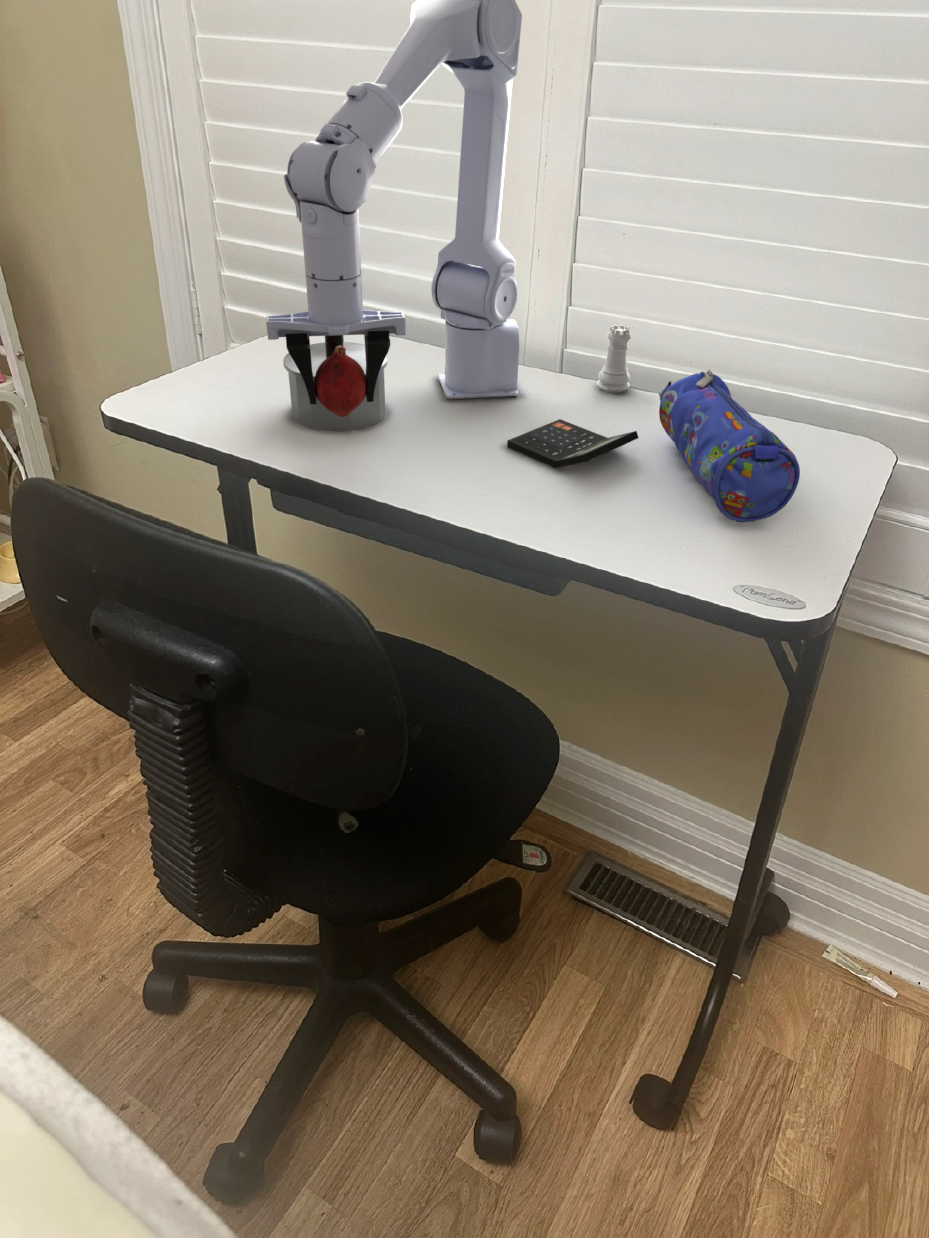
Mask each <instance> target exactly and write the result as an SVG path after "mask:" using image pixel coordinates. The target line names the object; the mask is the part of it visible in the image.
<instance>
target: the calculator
mask: <svg viewBox="0 0 929 1238" xmlns="http://www.w3.org/2000/svg"><path fill="white" fill-rule="evenodd" d="M637 439H639V434H638V431H637V430H634V431H630V432H626V433H622V434H618V435H614V436H611V437H606V436H604V435H602V434H599V433H596V432H595V431H592V430H589V429H587V428H584V427H581V426H578V425H576V424H573V423H572V422H569V421H566V420H564V419H561V418H559V419H557V420H554V421H551V422H549V423H547V424H544V425H542V426H539V427H537V428H534V429H532V430H529V431H527V432H525V433H521V434H520V435H517V436H515V437H511V438H510V439H507V441H506V448H508V449H510V450H512V451H514V452H517V453H518V454H519V453H520V454H522V455H524V456H526V457H528V458H531V459H533V460H535V461H537V462H540V463H542V464H545V465H547V466H549V467H551V468H554V469H559V468H563V467H568V466H569V467H570V466H574V465H580V464H584V463H588V462H590V461H592V460H594V459H597V458H599V457H601V456H603V455H605V454H608V453H610V452H612V451H613V450H616V449H618V448H621V447H622V446H625V445H627V444H629V443H631V442H633V441H635V440H637Z"/></svg>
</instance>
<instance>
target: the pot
mask: <svg viewBox="0 0 929 1238" xmlns="http://www.w3.org/2000/svg"><path fill="white" fill-rule="evenodd" d="M287 372H288V371H287ZM288 383H289V392H290V395H289V396H290V404H291V405H290V406H291V415H292V418H293V420H294V421H295V422H296V423H297V424H298V425H300V426H303V427H305V428H306V429H307V428H308V429H310V430H314V431H321V432H333V433H339V432H341V433H342V432H351V431H357V430H362V429H366V428H370V427H371V426H373V425H376V424H378V423H379V422H380V421H382V419H383V418H384V416H385V414H386V392H385V368H384V369H383V370H382V371H380V372H379V375H378V378H377V382H376V386H375V391H374V401H373V402H367V398H366V396H365V398H364V400H363V401H362V403H361V404H360V405H359V406H358V407H357V408H356V409H354V410H353V411H352V412H351V413H349V414H348V415H347V416H346V417H339V416H338V415H336V414H334V413H332V412H330V411H329V410H327V409H326V408H325V407H324V406H323V405H322V404H321V403H320V402H319V400H318V398H317V397H316V404H310V400H309V395H308V392H307V389H306V386H305V383H304V381H303V378H301V377H298V376H295V375H293V374H291V373H289V372H288ZM314 383H315V380H314Z"/></svg>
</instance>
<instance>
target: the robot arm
mask: <svg viewBox="0 0 929 1238" xmlns="http://www.w3.org/2000/svg"><path fill="white" fill-rule="evenodd" d="M522 21H523V14H522V11H521V10H520V7H519V6H518V4H517V1H516V0H415V1H414V2H412V4H411V7H410V25H409V27H408V28H407V29H406V31H405V33H404V34H403V35H402V37H401V39H400V41H399V43H398V44H397V46H396V47H395V49H394V50H393V52H392V53H391V55H390V57H389V58H388V60H387V61H386V63H385V64H384V66H383V67H382V69H381V71H380V73H379V74H378V76H377V77H376V79H375V80H374V82H371V81H362V82H359V83H357V84H351V86H350V87H349V88H348V89H347V91H346V93H345V95H346V98H345V100H344V101H343V102H342V103H341V105H340V106H339V107H338V109H336V111H335V112H334V114H333V115H332V116H331V118H330V119H329V120H328V122H327V123H324V124H323V126H322V127H321V129H320V132H319V133H318V135H317V137H316V138H315V140H308V141H304V142H302V143H301V144H299V145H298V146H297V147H296V149H294V150H293V152H292V153H291V154H290V157H289V159H288V163H287V170H286V171H287V172H286V174H283V180H284V185H285V188H286V191H287V193H288V195H289V196H290V198H291V200H293V203H294V205H295V212H296V213H295V214H296V218H297V219H298V222H299V223H300V224H301V235H302V246H303V259H304V273H305V287H306V298H307V299H306V300H307V311H300V312H294V313H293V312H292V313H286V314H277V315H267V316H266V317H265V322H266V323H265V325H266V333H267V340H268V341H270V340H271V341H272V340H275V341H276V340H279V338H285V344H286V350H287V352H288V353H289V354H290V356H291V357H292V359H293V361H294V362H295V364H296V366H297V368H298V370H299V372H300V374H301V376H302V378H303V381H304V383H305V386H306V389H307V392H308V395H309V400H310V404H316V393H315V387H314V378H313V372H312V363H311V350H310V345H311V339H310V337H325V336H335V335H343V336H359V335H360V336H362V335H363V337H364V345H365V355H366V381H367V394H366V398H367V402H373V401H374V391H375V386H376V382H377V378H378V375H379V372H380V369H381V366H382V364H383V361H384V359H385V357H386V356H387V355H388V353H389V350H390V348H391V339H390V335H391V334H394V335H395V336H406V335H407V334H406V330H407V329H406V326H407V325H406V324H407V323H406V316H405V312H404V311H384V310H383V311H381V310H372V309H371V310H370V309H364V303H363V302H364V301H363V280H362V279H363V278H362V255H361V254H362V253H361V234H360V233H361V231H360V212H359V211H360V210H359V209H360V208H361V207H362V205H364V204H365V203H366V202H367V200H368V198H369V195H370V191H371V187H372V179H373V176H374V174H375V173H376V168H377V165H376V164H377V163H378V162H379V161H380V159H381V158H382V156H383V155H384V153H385V152H386V150H387V149H388V148H389V147H390V146H391V144H392V143H393V141H395V138H396V137H397V136H398V134H400V131H402V128H403V124H404V117H403V112H402V109H403V108H404V106H405V105H406V104H407V103H408V102H410V100H411V99H412V98H413V96H414V95H415V94H416V93H417V92H418V91H419V89H420V88H421V87H422V86H423V85H424V84H425V83H426V82H427V80H428V79H429V78H430V77H431V76H432V75H433V74H434V72H435V71H436V70H438V68H439V67H440V66H441V65H442V66H443V67H444V68H446V69H447V70H448V71H449V72H450V73H452V74H454V76H455V77H456V79H457V80H458V82H459V83H460V85H461V87H463V90H464V95H463V97H464V98H463V111H462V112H463V113H462V114H463V115H462V128H461V142H460V143H461V144H460V155H459V156H460V157H459V158H460V159H459V170H458V171H459V173H458V187H457V201H456V203H457V204H456V217H455V218H456V219H455V232H454V238H453V239H452V240H451V241H449V242H448V243H447V244H446V245H444V246H443V247H442V248H441V249H440V250H439V251H438V253H437V254H438V255H437V264H436V269H435V272H434V274H433V277H432V280H431V298H432V302H433V304H434V306H435V308H437V309H438V310H439V311H440V319H442V320H445V321H444V323H445V327H444V328H445V329H444V331H445V332H444V336H445V338H444V340H445V341H444V348H445V349H444V373H439V374H438V377H437V378H438V380H439V383H440V386H441V388H442V390H443V393H444V395H445V398H447V399H449V400H451V399H453V400H455V399H477V398H499V397H517V396H518V395H519V391H518V376H519V361H520V359H519V358H520V332H519V327H518V323H517V321H516V320H515V319H512V318H510V317H511V316H512V314H513V313H514V311H515V310H516V306H517V302H518V296H519V290H518V284H517V279H516V267H517V261H516V259H515V258H514V256H513V255H512V254H511V253H510V252H509V251H508V249H507V248H505V246H504V245H503V244H502V243H501V241H500V239H499V238H500V227H501V215H502V205H503V204H502V203H503V195H504V194H503V192H504V181H505V173H506V172H505V171H506V160H507V148H508V138H509V137H508V136H509V124H510V117H511V116H510V115H511V104H512V92H513V82H514V81H513V80H514V79H515V78H516V77H517V75H518V66H519V65H518V63H519V52H520V43H521V31H522Z"/></svg>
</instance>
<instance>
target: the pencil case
mask: <svg viewBox="0 0 929 1238" xmlns="http://www.w3.org/2000/svg"><path fill="white" fill-rule="evenodd" d="M658 396H659V400H660V403H659V409H658V415H659V422H660V424H661V427H662V429H663V430H664V431H665V434H666V435H667V436H668V437H669V439H670V440H671V441H672V442H673V443H674V445H675V448H676V449H677V451H678V452H679V455H680V456H681V458H682V461H683V462H684V463H685V465H686V467H687V468H688V469H689V471H690V472H691V473H692V475H693V476H694V478H695V479H696V481H697V482H698V483H699V484H700V485H701V487H702V488H703V489H704V491H706V493H707V494H708V495H709V496H710V497H711V498H712V499H713V500H714V503H715V505H716V507H717V509H718V510H719V512H720V513H721V514H722V515H723V517H726V518H727V519H729V520H731V521H735V522H737V523H750V522H755V521H759V520H760V521H761V520H764V519H767V518H770V517H772V516H774V515H776V514H777V513H778V512H780V511H781V510H782V509H783V508H785V507H786V506H787V504H788V503H789V502H790V501H791V499H792V498H793V496H794V494H795V492H796V490H797V487H798V484H799V482H800V477H801V473H800V472H801V468H800V464H799V461H798V460H797V457H796V455H795V454H794V452H793V451H792V450H791V449H790V448H789V447H788V446H787V445H786V444H785V443H784V442H783V441H782V440H781V439H780V438H779V437H778V436H777V434H775V433H774V432H773V431H771V430H770V429H768V428H767V427H766V426H765V425H764V424H762V423H761V422H759V421H758V420H757V419H755V418H754V417H753V416H752V415H751V414H750V413H749V412H748V411H747V409H745V408H744V407H743V406H741V405H740V404H739V403H738V402H737V401H736V400H735V399H733V398H732V394H731V392H730V389H729V386H728V385H727V384H726V382H725V381H724V380H723V379H722V378H721V377H720V376H718V375H717V374H714V373H713V372H712V370H711V369H708V370H706V371H705V372H704V371H700V372H699V373H697V372H696V373H693V374H690V375H688V376H686V377H683V378H681V379H678V380H677V381H674V382H673V383H672V381H671V380H670V381H668V382H667V384H666V385H665V387H664V388H663V389H661V390H660V392H659V393H658Z"/></svg>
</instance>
